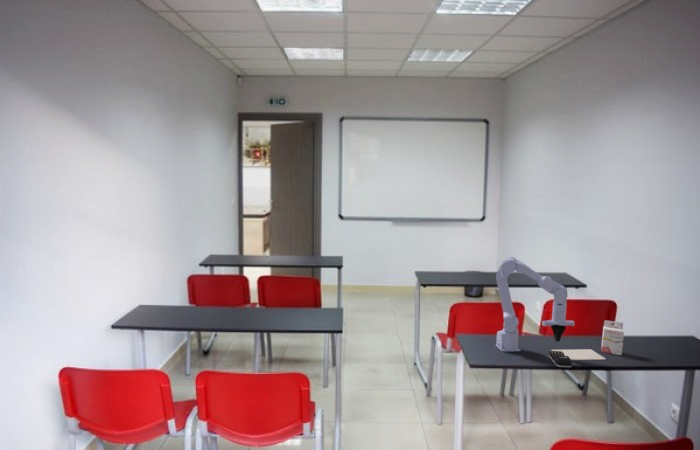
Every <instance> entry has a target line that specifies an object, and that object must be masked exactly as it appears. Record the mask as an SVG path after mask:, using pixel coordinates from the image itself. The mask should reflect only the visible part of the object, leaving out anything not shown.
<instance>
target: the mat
mask: <svg viewBox="0 0 700 450" xmlns="http://www.w3.org/2000/svg"><path fill="white" fill-rule="evenodd" d="M550 351H562V352H563V353H564V355H565V356H568V357H569V358H570V359H571V361H606V360H607V358H605V357H604V356H602V355H601V354H599V353H597V352H596V351H595V350H593V349H591V348H590V349H589V348H588V349H587V348H586V349H584V348H583V349H551V350H550Z"/></svg>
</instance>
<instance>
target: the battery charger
mask: <svg viewBox="0 0 700 450" xmlns="http://www.w3.org/2000/svg"><path fill="white" fill-rule="evenodd" d="M548 358H549V360H551V362H552V363H553V364H554V365H555V367H557V368H560V369H563V368H564V369H572V366H573V365H572V364H573V362H572V361H573V360H571V359H570V358H569V357H568V356H565V355H564V353H563V352H562V351H551V350H550V351H549V353H548Z"/></svg>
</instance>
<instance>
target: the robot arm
mask: <svg viewBox="0 0 700 450" xmlns="http://www.w3.org/2000/svg"><path fill="white" fill-rule="evenodd" d="M514 272H515V273H516V274H524V275H526V276H527V277H529V278H531V279H532V280H534V281H535V282H537V283H538V284H537V285H538V287H540V288H541V289H543V290H544V291H546V292H547V293H548V294H550V295H553V302H552V313H551V316H552V317H551V319H549V320H548V319H547V320H542V322H541V324H542V326H543V327H551V331H552V333H553V337H554V341H555V342H560V341H561V338H562V336H563V334H564V333H565V331H566V329H567V327H568V326H569V327H570V326H571V327H575V321H574V320H566V319H567V318H566V316H567V305H568V304H567V300H568V299H567V298H568V296H569V295H568V290H567V287H565V286H564V285H563V284H561V283H559V282H556V281H555V280H554V279H552V276H547V275H544V276H543V275H540V273H537V271H535V270H533V269H532V268H531V267H530V266H528V265H526V263H524V262H523V261H521V260H519V259H517V258H515V257H513V256H509V257H507V258H505V259H504V260H503V261H502V262H501V264H500V265H499V267H498V270H497V273H496V275H495V280H496V284H497V289H498V294H499V298H500V299H499V300H500V304H501V309H502V313H503V324H502V326H503V328H502V330H498V331H497V332H496V342H495V343H496V344H495V347H497V349H499V350H500V352H521V349H520V348H519V343H518V342H519V329H518V326H519V324H520V322H519V321H520V320H519V318H518V317H517V316H516V313H515V310H514V306H513V300H512V297H511V292H510V288H509V283H508V277H509V276H510V275H511V274H512V273H514Z"/></svg>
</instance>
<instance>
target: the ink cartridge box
mask: <svg viewBox="0 0 700 450" xmlns="http://www.w3.org/2000/svg"><path fill="white" fill-rule="evenodd" d="M623 328H624V323H623V322H620V321H612V320H606V319H605V320H604V322H603V326H602V336H601V337H602V338H601V347H600V350H601V353H604V354H605V353H606V354H610V355H611V354H613V355H616V356H617V355H618V356H622V353H623V344H624V337H625V336H624V334H625V332H624V331H625V330H624V329H623Z"/></svg>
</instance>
